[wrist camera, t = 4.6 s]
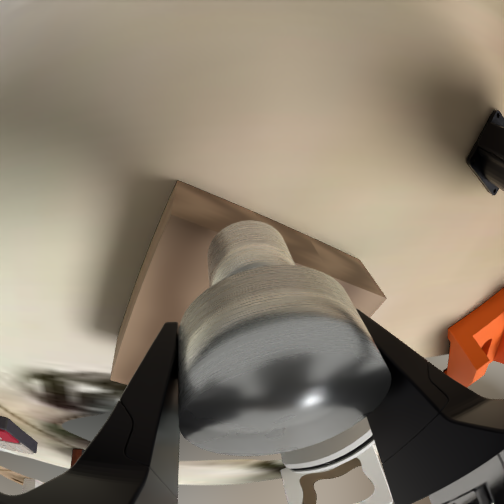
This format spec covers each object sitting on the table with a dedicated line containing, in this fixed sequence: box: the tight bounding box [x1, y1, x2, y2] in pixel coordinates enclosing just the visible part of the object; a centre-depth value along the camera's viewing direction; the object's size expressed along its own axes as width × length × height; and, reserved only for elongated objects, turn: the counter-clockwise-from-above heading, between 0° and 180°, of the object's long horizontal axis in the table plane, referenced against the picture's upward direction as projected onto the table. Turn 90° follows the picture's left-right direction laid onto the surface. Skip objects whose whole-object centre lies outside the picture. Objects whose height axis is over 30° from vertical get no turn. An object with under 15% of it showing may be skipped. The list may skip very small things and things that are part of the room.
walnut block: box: [110, 180, 387, 385], centre depth 23 cm, size 16×16×5 cm
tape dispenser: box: [443, 288, 504, 388], centre depth 36 cm, size 18×13×8 cm
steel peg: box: [178, 220, 391, 456], centre depth 10 cm, size 6×6×8 cm
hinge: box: [281, 417, 375, 473], centre depth 39 cm, size 17×5×10 cm, turn 124°
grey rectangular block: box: [22, 478, 44, 494], centre depth 68 cm, size 32×11×11 cm, turn 26°
